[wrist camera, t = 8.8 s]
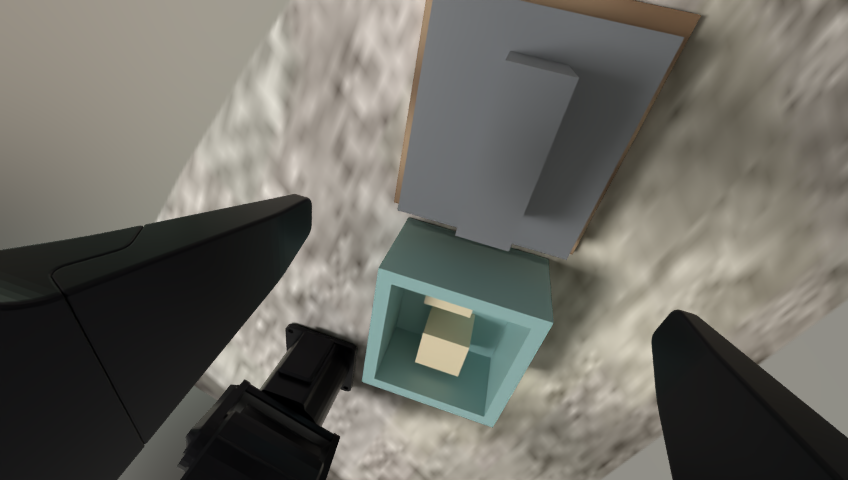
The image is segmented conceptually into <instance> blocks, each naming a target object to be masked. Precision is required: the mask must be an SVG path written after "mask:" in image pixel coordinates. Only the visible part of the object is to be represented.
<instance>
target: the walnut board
mask: <svg viewBox="0 0 848 480" xmlns="http://www.w3.org/2000/svg"><path fill="white" fill-rule="evenodd" d="M432 1H433V0H426V4H425V10H424V16H423V22H422V29H421V35H420V41H419V48H418V54H417V60H416V67H415V73H414V79H413V86H412V92H411V98H410V104H409V111H408V117H407V123H406V130H405V136H404V142H403V149H402V155H401V161H400V167H399V174H398V180H397V186H396V193H395V199H394V202H395V203H398V204H399V200H400V194H401V188H402V182H403V176H404V170H405V164H406V158H407V152H408V145H409V139H410V133H411V127H412V121H413V115H414V109H415V103H416V97H417V91H418V85H419V79H420V73H421V67H422V61H423V55H424V49H425V43H426V37H427V31H428V25H429V19H430V13H431V7H432ZM520 1H525V2H529V3H534V4H538V5H543V6H547V7H552V8H556V9H561V10H565V11H569V12H574V13H578V14H583V15H587V16H592V17H596V18H601V19H605V20H610V21H614V22H618V23H623V24H627V25H632V26H636V27H641V28H645V29H650V30H654V31H659V32H663V33H667V34H672V35H676V36H681V37H684V39H683V41H682V43H681V45H680V47H679V49H678V51H677V52H676V54H675V56H674V58H673V60H672V62H671V64H670V66H669V68H668V69H667V71H666V73H665V75H664V77H663V79H662V81H661V83H660V85H659V86H658V88H657V90H656V92H655V94H654V96H653V98H652V100H651V101H650V103H649V105H648V107H647V109H646V111H645V113H644V115H643V117H642V118H641V120H640V122H639V124H638V126H637V128H636V130H635V132H634V133H633V135H632V137H631V139H630V141H629V143H628V145H627V147H626V149H625V150H624V152H623V154H622V156H621V158H620V160H619V162H618V164H617V166H616V167H615V169H614V171H613V173H612V175H611V177H610V179H609V181H608V182H607V184H606V186H605V188H604V190H603V192H602V194H601V196H600V198H599V199H598V201H597V203H596V205H595V207H594V209H593V211H592V213H591V214H590V216H589V218H588V220H587V222H586V224H585V226H584V228H583V230H582V231H581V233H580V235H579V237H578V239H577V241H576V243H575V245H574V247H573V248H572V250H571V252H570V254H573V252H574V250H575V248H576V247H577V245H578V243H579V241H580V239H581V237H582V235H583V234H584V232H585V230H586V228H587V226H588V224H589V223H590V221H591V219H592V217H593V215H594V213H595V211H596V210H597V208H598V206H599V204H600V202H601V200H602V198H603V197H604V195H605V193H606V191H607V189H608V187H609V185H610V184H611V182H612V180H613V178H614V176H615V174H616V172H617V171H618V169H619V167H620V165H621V163H622V161H623V159H624V158H625V156H626V154H627V152H628V150H629V148H630V146H631V145H632V143H633V141H634V139H635V137H636V135H637V133H638V132H639V130H640V128H641V126H642V124H643V122H644V120H645V119H646V117H647V115H648V113H649V111H650V109H651V108H652V106H653V104H654V102H655V100H656V98H657V96H658V95H659V93H660V91H661V89H662V87H663V85H664V83H665V82H666V80H667V78H668V76H669V74H670V72H671V70H672V69H673V67H674V65H675V63H676V61H677V59H678V57H679V56H680V54H681V52H682V50H683V48H684V46H685V44H686V43H687V41H688V39H689V37H690V35H691V33H692V31H693V30H694V28H695V26H696V24H697V22H698V20H699V18H700V17H701V15H698V14H693V13H689V12H684V11H679V10H675V9H670V8H666V7H661V6H657V5H652V4H647V3H643V2H638V1H634V0H520Z"/></svg>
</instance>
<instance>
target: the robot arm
mask: <svg viewBox="0 0 848 480" xmlns="http://www.w3.org/2000/svg"><path fill="white" fill-rule="evenodd" d="M311 226H312V203H311V200H310V199H309V198H307V197H304V196H300V195H297V194H292V195H287V196H282V197H278V198H273V199H268V200H263V201H258V202H253V203H248V204H243V205H239V206H234V207H229V208H224V209H219V210H214V211H209V212H204V213H200V214H195V215H190V216H185V217H180V218H175V219H170V220H165V221H161V222H156V223H151V224H146V225H145V226H144V227H143V226H136V227H131V228H126V229H122V230H116V231H111V232H105V233H101V234H95V235H90V236H84V237H78V238H72V239H66V240H60V241H54V242H48V243H41V244H35V245H29V246H23V247H17V248H10V249H3V250H0V480H117V479H118V478H119V477H120V476H121V475H122V473H123V472H124V471H125V469H126V468H127V467H128V466H129V465H130V464H131V462H132V461H133V460H134V459H135V457H136V456H137V455H138V454H139V453H140V451H141V450H142V449H143V448H144V444H146V443H147V442H148V441H149V440H150V439H151V437H152V436H153V435H154V434H155V432H156V431H157V430H158V429H159V428H160V426H161V425H162V424H163V423H164V421H165V420H166V419H167V418H168V417H169V415H170V414H171V413H172V411H173V410H174V409H175V408H176V407H177V405H178V404H179V403H180V402H181V401H182V399H183V398H184V397H185V396H186V394H187V393H188V392H189V391H190V389H191V388H192V387H193V386H194V385H195V383H196V382H197V381H198V380H199V379H200V377H201V376H202V375H203V374H204V372H205V371H206V370H207V369H208V367H209V366H210V365H211V364H212V363H213V361H214V360H215V359H216V358H217V356H218V355H219V354H220V353H221V352H222V350H223V349H224V348H225V347H226V345H227V344H228V343H229V342H230V341H231V339H232V338H233V337H234V336H235V334H236V333H237V332H238V331H239V329H240V328H241V327H242V326H243V325H244V323H245V322H246V321H247V320H248V318H249V317H250V316H251V315H252V314H253V312H254V311H255V310H256V309H257V307H258V306H259V305H260V304H261V303H262V301H263V300H264V299H265V298H266V296H267V295H268V294H269V293H270V291H271V290H272V289H273V288H274V287H275V285H276V284H277V283H278V281H279V280H280V279H281V277H282V276H283V275H284V273H285V272H286V270H287V268H288V267H289V265H290V264H291V262H292V261H293V259H294V257H295V256H296V254H297V253H298V251H299V250H300V248H301V246H302V245H303V243H304V242H305V240H306V239H307V237H308V235H309V233H310V231H311ZM286 347H287V352H286V354H285V355H284V356H283V358H282V359H281V361H280V362H279V363H278V365H277V366H276V368H275V369H274V370H273V372H272V373H271V375H270V376H269V377H268V379H267V380H266V381H265V383H264V384H263V386H262V387H261V388H260V390H259V389H258V388H256V387H254V386H253V385H251V384H250V382H248V381H247V380H245V379H244V381H243V382H242V383H241V384H240V385H230V386H229V387H228V388H227V390H226V391H225V392H224V393H223V395H222V396H221V397H220V398H219V400H218V401H217V402H216V403H215V404H214V405H213V407H212V408H211V409H210V410H209V411H208V412H207V413H206V414H205V415H204V416H203V417H202V418H201V419H200V420H199V422H198V423H197V424H196V425H195V426H194V427H193V428H192V429H191V430H190V432H189V433H188V434H187V436H186V449H185V451H184V452H183V455H184V457H183V458H182V459H181V461H180V463H179V464H178V466H177V468H178V469H180V470H182V471H185V472H186V473H185V474H184V476H183V477H182V478H181V480H326V478H327V475H328V472H329V469H330V466H331V463H332V460H333V457H334V454H335V451H336V448H337V445H338V442H339V439H340V436H339V435H337V434H335V433H334V434H333V433H331V432H329V431H328V430H326V429H324V428H323V427H321V426H322V424H323V422H324V420H325V418H326V416H327V414H328V412H329V410H330V408H331V406H332V404H333V402H334V400H335V398H336V396H337V394H338V392H339V390H340V389H341V390H344V391H350V390H351V388H352V385H353V377H354V369H355V361H356V353H357V348H356V346H354V345H353V344H350V343H347V342H344V341H341V340H338V339H335V338H332V337H329V336H327V335H324V334H321V333H318V332H315V331H312V330H309V329H306V328H303V327H300V326H297V325H294V324H289V325H288V326H287V327H286ZM652 354H653V366H654V377H655V389H656V398H657V405H658V410H659V416H660V421H661V425H662V430H663V435H664V440H665V445H666V450H667V455H668V459H669V464H670V469H671V474H672V479H673V480H848V438H847V437H846V436H845V435H844V434H842V433H841V432H840V431H838V430H837V429H836V428H835V427H834V426H833V425H831V424H830V423H829V422H828V421H826V420H825V419H824V418H823V417H821V416H820V415H819V414H818V413H817V412H815V411H814V410H813V409H812V408H810V407H809V406H808V405H807V404H805V403H804V402H803V401H802V400H800V399H799V398H798V397H797V396H795V395H794V394H793V393H792V392H791V391H789V390H788V389H787V388H786V387H785V386H783V385H782V384H781V383H780V382H778V381H777V380H776V379H775V378H773V377H772V376H771V375H770V374H768V373H767V372H766V371H765V370H764V369H762V368H761V367H760V366H759V365H757V364H756V363H755V362H754V361H753V360H751V359H750V358H749V357H748V356H746V355H745V354H744V353H743V352H741V351H740V350H739V349H738V348H736V347H735V346H734V345H733V344H732V343H730V342H729V341H728V340H727V339H725V338H724V337H723V336H722V335H720V334H719V333H718V332H717V331H716V330H714V329H713V328H712V327H711V326H709V325H708V324H707V323H706V322H704V321H703V320H702V319H701V318H700V317H698V316H697V315H695V314H692V313H689V312H685V311H682V310H674V311H672V312H671V313H670V314H669V315H668V316H667V317H666V319H665V320H664V321H663V322H662V323H661V325H660V326H659V327H658V328H657V329H656V331H655V332H654V334H653V336H652Z"/></svg>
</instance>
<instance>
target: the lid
mask: <svg viewBox="0 0 848 480" xmlns="http://www.w3.org/2000/svg"><path fill="white" fill-rule="evenodd" d="M683 39H684V37H681V36H676V35H672V34H667V33H663V32H659V31H654V30H650V29H645V28H641V27H636V26H632V25H627V24H623V23H618V22H614V21H610V20H605V19H601V18H596V17H592V16H587V15H583V14H578V13H574V12H569V11H565V10H561V9H556V8H552V7H547V6H543V5H538V4H534V3H529V2H525V1H520V0H433V1H432V7H431V13H430V19H429V25H428V31H427V37H426V43H425V49H424V55H423V61H422V67H421V73H420V79H419V85H418V91H417V97H416V103H415V109H414V115H413V121H412V127H411V133H410V139H409V145H408V152H407V158H406V164H405V170H404V176H403V182H402V188H401V194H400V200H399V206H398V210H399V211H402V212H406V213H409V214H412V215H416V216H419V217H423V218H426V219H429V220H433V221H436V222H440V223H443V224H446V225H450V226H453V227H457V230H456V234H455V236H458V237H462V238H465V239H468V240H472V241H475V242H478V243H482V244H485V245H488V246H492V247H495V248H499V249H502V250H505V251H509V250H510V247H511V245H512V244H514V245H518V246H521V247H524V248H528V249H531V250H535V251H538V252H541V253H545V254H548V255H552V256H555V257H558V258H562V259H565V260H567V258H568V256H569V254H570V252H571V250H572V248H573V247H574V245H575V243H576V241H577V239H578V237H579V235H580V233H581V231H582V230H583V228H584V226H585V224H586V222H587V220H588V218H589V216H590V214H591V213H592V211H593V209H594V207H595V205H596V203H597V201H598V199H599V198H600V196H601V194H602V192H603V190H604V188H605V186H606V184H607V182H608V181H609V179H610V177H611V175H612V173H613V171H614V169H615V167H616V166H617V164H618V162H619V160H620V158H621V156H622V154H623V152H624V150H625V149H626V147H627V145H628V143H629V141H630V139H631V137H632V135H633V133H634V132H635V130H636V128H637V126H638V124H639V122H640V120H641V118H642V117H643V115H644V113H645V111H646V109H647V107H648V105H649V103H650V101H651V100H652V98H653V96H654V94H655V92H656V90H657V88H658V86H659V85H660V83H661V81H662V79H663V77H664V75H665V73H666V71H667V69H668V68H669V66H670V64H671V62H672V60H673V58H674V56H675V54H676V52H677V51H678V49H679V47H680V45H681V43H682V41H683Z"/></svg>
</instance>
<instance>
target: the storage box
mask: <svg viewBox="0 0 848 480" xmlns="http://www.w3.org/2000/svg"><path fill="white" fill-rule="evenodd" d="M455 234H456V231H453V230H449V229H446V228H443V227H439V226H436V225H432V224H429V223H426V222H422V221H419V220H416V219H412V218H408V219H407V221H406V223H405V224H404V226H403V228H402V229H401V231H400V233H399V235H398V236H397V238H396V240H395V241H394V243H393V245H392V246H391V248H390V250H389V251H388V253H387V255H386V256H385V258H384V260H383V261H382V263H381V265H380V267H379V269H378V276H377V282H376V289H375V296H374V303H373V309H372V316H371V323H370V330H369V336H368V343H367V350H366V357H365V363H364V370H363V377H362V382H364V383H367V384H370V385H373V386H375V387H378V388H381V389H384V390H387V391H390V392H393V393H395V394H398V395H401V396H404V397H407V398H410V399H413V400H415V401H418V402H421V403H424V404H427V405H430V406H433V407H435V408H438V409H441V410H444V411H447V412H450V413H453V414H455V415H458V416H461V417H464V418H467V419H470V420H473V421H475V422H478V423H481V424H484V425H487V426H490V427H492V428H493V426H494V424H495V423H496V421H497V419H498V418H499V416H500V414H501V412H502V411H503V409H504V407H505V406H506V404H507V402H508V400H509V399H510V397H511V395H512V394H513V392H514V390H515V388H516V387H517V385H518V383H519V382H520V380H521V378H522V376H523V375H524V373H525V371H526V369H527V368H528V366H529V364H530V363H531V361H532V359H533V357H534V356H535V354H536V352H537V351H538V349H539V347H540V345H541V344H542V342H543V340H544V339H545V337H546V335H547V333H548V332H549V330H550V328H551V327H552V325H553V310H552V298H551V285H550V273H549V260H548V259H547V258H543V257H540V256H537V255H533V254H530V253H527V252H523V251H520V250H517V249H513V248H510V250H509V251H505V250H502V249H499V248H495V247H492V246H488V245H485V244H482V243H478V242H475V241H472V240H468V239H465V238H462V237H458V236H455Z"/></svg>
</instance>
